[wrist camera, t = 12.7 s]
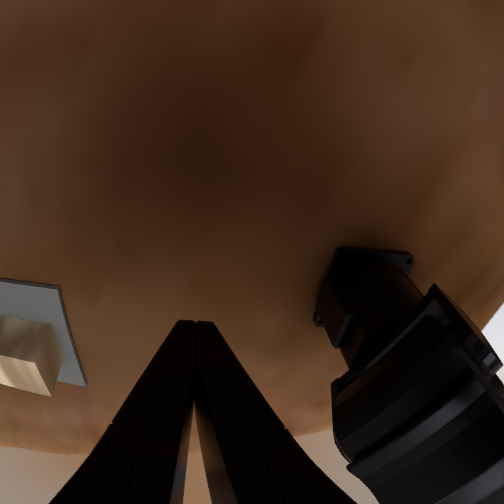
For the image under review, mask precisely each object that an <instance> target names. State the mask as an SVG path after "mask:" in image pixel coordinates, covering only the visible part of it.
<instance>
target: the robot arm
mask: <svg viewBox="0 0 504 504" xmlns="http://www.w3.org/2000/svg"><path fill="white" fill-rule="evenodd" d="M343 253H345V255H344V256H343V257H340V256H341V255H342V254H343ZM407 260H408V261H407ZM413 263H414V257H413V256H412V255H411V254H410V253H406V252H396V251H385V250H374V249H364V248H353V247H340V248H338V249H337V250H336V252H335V255H334V258H333V261H332V264H331V267H330V270H329V273H328V276H327V277H326V278H325V280H324V283H323V286H322V289H321V292H320V295H319V298H318V301H317V304H316V312H315V315H314V318H313V321H314V323H315V325H316V326H317V327H325V330H326V332H327V334H328V336H329V339H330V341H331V343H332V345H333V347H334V348H335V349H340V350H341V353H342V355H343V357H344V359H345V362H346V364H347V366H348V368H349V370H348V371H347V372H346V373H345V374H344V375H342V376H341V377H340V378H337V379H336V380H334V381H333V382H332V383H331V398H332V420H333V436H334V440H335V444H336V445H337V448H338V449H339V451H340V453H341V454H342V456H343V457H344V458H345V459H346V460H347V461H348V462H349V463H350V464H348V465H347V466H346V468H347V470H348V471H349V472H350V473H352V474H353V475H354V476H356V477H357V478H359V479H360V480H361V481H362V482H363V483H364V484H365V485H366V486H367V487H368V488H369V489H370V491H371V492H372V493H373V495H374V496H375V497H376V499H377V501H378V502H379V504H504V384H503V383H502V381H501V380H500V379H499V377H498V376H497V375H496V372H497V371H498V370H499V369H500V368H501V367H502V366H503V363H502V362H501V360H500V359H499V357H498V356H497V354H496V353H495V351H494V349H493V348H492V347H491V345H490V344H489V342H488V341H487V339H486V338H485V336H484V335H483V334H482V332H481V331H480V330H479V328H478V327H477V326H476V325H475V324H474V323H473V321H472V320H471V319H470V318H469V317H468V316H467V314H466V313H465V312H464V311H463V310H462V309H461V308H460V307H459V306H458V305H457V304H456V303H455V302H454V301H453V300H452V299H451V298H450V297H449V296H448V295H447V294H446V293H445V292H444V291H442V290H441V289H440V288H439V287H438V286H437V285H436V284H435V283H434V284H433V285H432V286H431V287H430V288H429V290H428V291H429V292H428V293H427V294H426V295H425V296H424V295H423V294H422V293H421V292H420V290H419V289H418V288H417V287H416V286H415V284H414V283H413V282H412V281H411V280H410V279H409V277H408V275H409V272H410V270H411V268H412V265H413ZM320 319H321V320H320ZM319 320H320V321H319ZM193 407H195V416H196V422H197V428H198V434H199V440H200V446H201V451H202V457H203V462H204V468H205V473H206V478H207V483H208V488H209V493H210V497H211V502H212V504H357V503H356V502H355V501H354V500H353V499H351V498H350V497H349V496H348V495H347V494H346V493H345V492H344V491H343V490H341V489H340V488H339V487H338V486H337V485H336V484H335V483H334V482H333V481H332V480H331V479H330V478H329V477H328V476H326V474H325V473H324V472H323V471H322V470H321V469H320V468H319V467H318V466H317V465H316V464H315V463H314V462H313V461H312V460H311V459H310V458H309V456H308V455H307V454H306V453H305V452H304V450H303V449H302V448H301V447H300V445H299V444H298V443H297V442H296V440H295V439H294V438H293V436H292V435H291V434H290V432H289V431H288V430H287V429H284V428H285V426H284V425H283V423H282V422H281V420H280V419H279V418H278V416H277V415H276V414H275V412H274V411H273V409H272V408H271V407H270V405H269V404H268V402H267V401H266V400H265V398H264V397H263V395H262V394H261V393H260V391H259V390H258V388H257V387H256V385H255V384H254V383H253V381H252V380H251V378H250V377H249V375H248V374H247V372H246V371H245V369H244V368H243V366H242V365H241V363H240V362H239V360H238V359H237V358H236V356H235V355H234V353H233V351H232V350H231V348H230V347H229V345H228V344H227V342H226V341H225V339H224V338H223V336H222V335H221V333H220V332H219V330H218V328H217V327H216V325H215V324H214V323H213V322H211V321H197V322H196V324H195V321H193V320H178V321H177V322H176V324H175V325H174V327H173V328H172V330H171V331H170V333H169V334H168V336H167V337H166V339H165V340H164V342H163V343H162V345H161V346H160V348H159V349H158V351H157V352H156V354H155V355H154V357H153V358H152V360H151V361H150V363H149V364H148V366H147V367H146V369H145V370H144V372H143V374H142V375H141V377H140V378H139V380H138V381H137V383H136V384H135V386H134V387H133V389H132V390H131V392H130V393H129V395H128V397H127V398H126V400H125V401H124V403H123V404H122V406H121V407H120V409H119V411H118V412H117V414H116V415H115V417H114V418H113V420H112V424H109V426H108V427H107V429H106V431H105V432H104V434H103V435H102V437H101V438H100V440H99V441H98V443H97V444H96V446H95V447H94V449H93V450H92V452H91V453H90V454H89V456H88V457H87V458H86V460H85V461H84V462H83V463H82V465H81V466H80V467H79V469H78V470H77V471H76V472H75V473H74V475H73V476H72V477H71V478H70V479H69V480H68V482H67V483H66V484H65V485H64V486H63V488H62V489H61V490H60V491H59V492H58V493H57V495H56V496H55V497H54V498H53V499H52V500H51V501H50V503H49V504H183V496H184V487H185V477H186V468H187V459H188V450H189V441H190V433H191V425H192V417H193Z"/></svg>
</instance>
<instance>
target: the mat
mask: <svg viewBox="0 0 504 504" xmlns="http://www.w3.org/2000/svg"><path fill="white" fill-rule="evenodd" d="M0 315H1V316H7V317H12V318H17V319H23V320H28V321H34V322H40V323H46V324H52V326H53V330H54V333H55V336H56V339H57V342H58V344H59V347H60V350H61V353H62V356H63V358H64V360H63V363H62V366H61V369H60V372H59V375H58V378H57V381H59V382H64V383H70V384H75V385H81V386H86V385H87V381H86V379H85V376H84V373H83V370H82V367H81V364H80V361H79V358H78V355H77V352H76V348H75V345H74V342H73V338H72V335H71V331H70V328H69V324H68V321H67V317H66V313H65V309H64V305H63V300H62V296H61V292H60V287H59V286H54V285H46V284H38V283H31V282H23V281H16V280H9V279H2V278H0Z"/></svg>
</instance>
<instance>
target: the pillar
mask: <svg viewBox="0 0 504 504" xmlns="http://www.w3.org/2000/svg"><path fill="white" fill-rule="evenodd" d="M63 360H64V358H63V356H62V353H61V350H60V347H59V344H58V342H57V339H56V336H55V333H54V330H53V326H52V324H46V323H40V322H34V321H28V320H23V319H17V318H12V317H7V316H1V315H0V383H1V384H4V385H8V386H11V387H15V388H18V389H22V390H26V391H30V392H34V393H38V394H42V395H47V396H52V393H53V390H54V387H55V384H56V381H57V378H58V375H59V372H60V369H61V366H62V363H63Z"/></svg>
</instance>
